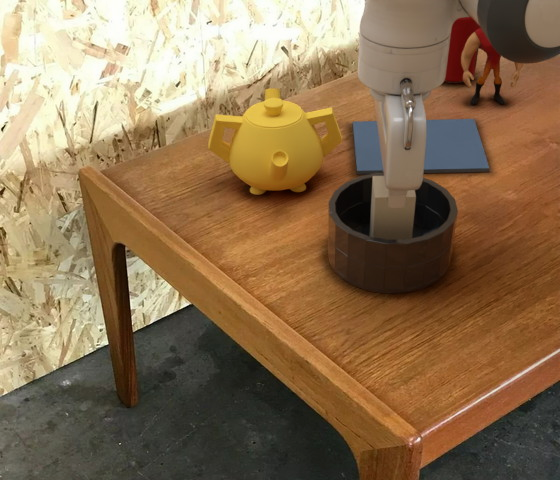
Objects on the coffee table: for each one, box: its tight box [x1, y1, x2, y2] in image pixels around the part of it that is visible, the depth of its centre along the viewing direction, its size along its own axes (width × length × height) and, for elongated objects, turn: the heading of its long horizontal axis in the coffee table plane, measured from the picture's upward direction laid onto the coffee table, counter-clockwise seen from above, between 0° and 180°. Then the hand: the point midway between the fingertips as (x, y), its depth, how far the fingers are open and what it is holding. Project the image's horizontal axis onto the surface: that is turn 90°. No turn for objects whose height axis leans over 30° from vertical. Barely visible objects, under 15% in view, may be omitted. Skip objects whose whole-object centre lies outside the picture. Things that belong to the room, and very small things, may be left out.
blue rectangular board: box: [352, 118, 490, 175], centre depth 113 cm, size 18×14×1 cm
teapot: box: [207, 87, 343, 196], centre depth 105 cm, size 20×18×11 cm
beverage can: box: [444, 16, 481, 84], centre depth 125 cm, size 7×7×12 cm
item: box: [369, 176, 416, 240], centre depth 92 cm, size 4×4×9 cm
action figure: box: [461, 28, 524, 106], centre depth 117 cm, size 10×4×15 cm, turn 87°
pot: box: [327, 173, 459, 295], centre depth 93 cm, size 15×15×7 cm
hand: (392, 181), depth 89 cm, fingers open, 8 cm apart
